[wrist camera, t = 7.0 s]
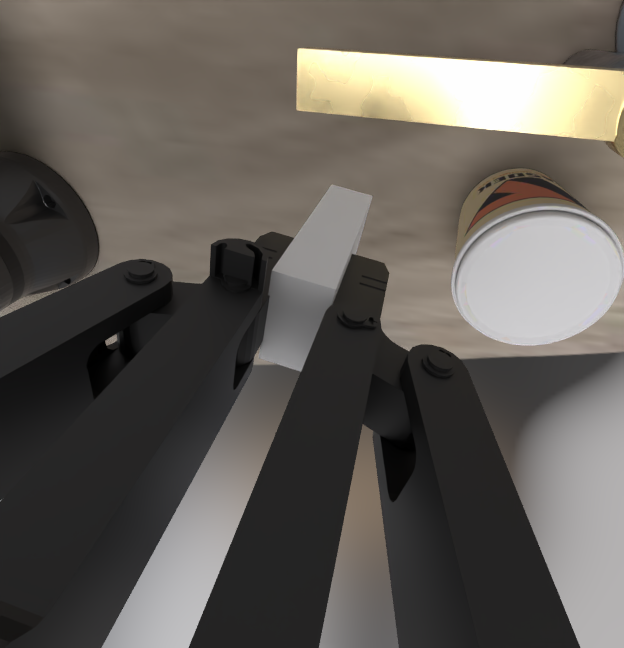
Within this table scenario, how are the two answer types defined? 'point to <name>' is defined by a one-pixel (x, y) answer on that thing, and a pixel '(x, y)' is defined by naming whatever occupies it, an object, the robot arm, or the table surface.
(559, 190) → the coffee cup
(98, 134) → the table surface
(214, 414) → the robot arm
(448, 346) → the table surface
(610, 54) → the post
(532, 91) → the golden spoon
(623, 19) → the disc
